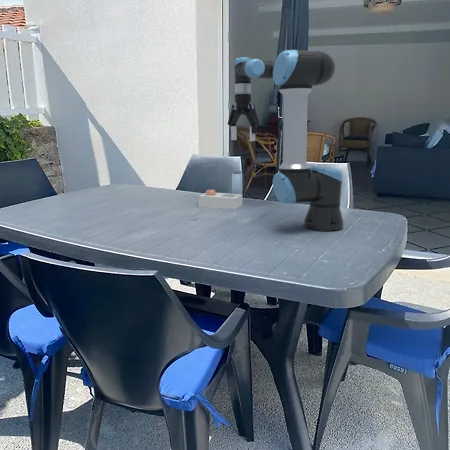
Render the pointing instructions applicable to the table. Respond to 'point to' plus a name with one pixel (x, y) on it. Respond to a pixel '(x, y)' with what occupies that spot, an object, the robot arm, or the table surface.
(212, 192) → the plunger
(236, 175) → the cartridge
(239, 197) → the housing
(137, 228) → the table surface
